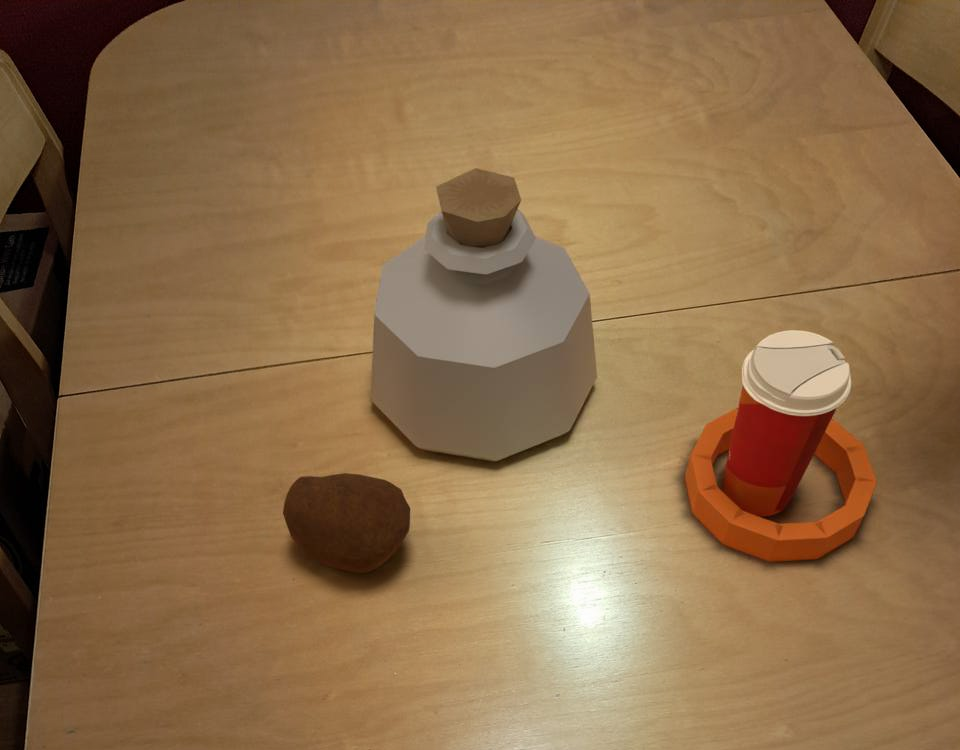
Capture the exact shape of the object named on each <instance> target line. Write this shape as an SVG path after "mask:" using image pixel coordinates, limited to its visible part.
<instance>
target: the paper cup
mask: <svg viewBox="0 0 960 750" xmlns="http://www.w3.org/2000/svg"><path fill="white" fill-rule="evenodd" d="M834 344H835V343H834V341H832V340H830V339H829V338H827V337H825V336H823V335H820V334H818V333H815V332H811V331H807V330H801V329H799V330H798V329H791V330H781V331H778V332H775V333H772V334H769V335H768V336H766V337H764V338H763V339H762V340H760V341H759V342H758V343H757V344H756V346H755V347H754V348H753V349H752V350H750V352H749V353H748V354H747V355H746V357H745V358H744V360H743V363H742V365H741V366H742V367H741V384H742V388H741V391H740V397H739V401H738V405H737V408H738V410H737V415H736V420H735V424H734V429H733V434H732V439H731V444H730V448H729V450H728V453H727V460H726V463H725V464H726V465H725V469H724V474H723V479H722V492H723V493H724V494H725V495H727V496H728V497H729V498H730V499H731V500H732V501H733V502H734V503H735V504H736V505H737V506H738V507H739V508H740V509H741V510H742V511H745V512H747V513H750V514H753V515H756V516H758V517H770V516H773V515H776V514H778V513H780V512H783V510H784V509H785V508H787V506H788V504H789V503H790V502H791V500H792V498H793V496H794V494H795V492H796V491H797V488H798V486H799V484H800V483H801V481H802V480H803V479H802V478H803V477H804V475H805V473H806V471H807V469H808V467H809V465H810V463H811V461H812V459H813V457H814V455H815V454H814V453H815V451H816V449H817V447H818V445H819V443H820V441H821V439H822V437H823V435H824V433H825V431H826V429H827V427H828V425H829V423H830V421H831V419H832V418H833V417H834V415H835V413H836V411H837V409H838V407H840V406H841V405H843V403H844V402H845V401H846V400H847V398H848V397H849V395H850V393H851V388H852V378H851V368H850V363H849V362H846V357H845V355H844V354H843V353H842V352H841V350H840V349H839V348H838V347H835V346H834Z"/></svg>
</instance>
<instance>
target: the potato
mask: <svg viewBox="0 0 960 750" xmlns="http://www.w3.org/2000/svg"><path fill="white" fill-rule="evenodd" d="M282 516H283V518H284V522H285V524H286V526H287V530H288V533H289V535H290V538H291V539H292V540H293V541H294V542H295V544H296V545H298V546H299V547H300V548H301V549H302V550H303V551H304V552H305V553H306V554H307V555H309V556H310V557H311V558H313V559H315V560H317V561H318V562H319V563H321V564H323V565H326V566H328V567H331V568H333V569H337V570H343V571H348V572H351V573H356V574H363V573H369V572H371V571H373V570H375V569H378V568H379V567H380V566H381V565H383V564H384V563H385V562H387V561H388V560H389V559H390V558H391V557H392V556H393V555H394V554H395V553H396V552H397V550H399V548H400V546H401V545H402V543H403V541H404V540H405V538H406V537H407V535H408V533H409V531H410V527H411V507H410V504H409V503H408V501H407V499H406V497H405V495H404V493H403V491H402V488H400V487H398V486H397V485H395V484H393V483H392V482H391V481H388V480H386V479H383V478H378V477H373V476H370V475H369V476H368V475H363V474H357V473H347V472H344V473H343V472H342V473H335V474H329V475H324V476H314V475H307V476H306V475H305V476H299V477H298V478H297V479H296V480H294V482H293V483H292V484H291V485H290V487H289V489H288V491H287V493H286V497H285V500H284V503H283V509H282Z"/></svg>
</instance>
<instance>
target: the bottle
mask: <svg viewBox="0 0 960 750" xmlns="http://www.w3.org/2000/svg"><path fill="white" fill-rule="evenodd" d="M435 188H436V189H435V190H436V193H437V198H438V202H439V207H440V212H438V213H437V214H436V215H434V216H433V217H432V218H431V219H430V221H428V223H427V224H426V230H425V235H424V236H423V237H421V238H420V239H418V240H417V241H415V242H413V244H411V245H410V246H407V248H405V249H404V250H402V251H401V252H399V253H398V254H396V255H394V256H393V257H392V258H391V259H389V260H387V261H386V262H385V263H383V264H382V265H381V271H380V277H379V284H378V290H377V295H376V302H375V307H374V314H373V333H372V335H373V336H372V356H371V358H372V360H371V375H370V376H371V378H370V401H371V402H372V403H373V404H374V405H375V406H376V407H377V408H378V409H379V410H380V411H381V412H382V413H383V415H385V416H386V417H387V419H388V420H389V421H391V422H392V424H393V425H394V426H395V427H396V428H397V429H398V430H399V431H400V432H401V433H402V434H403V435H404V436H405V437H406V438H407V439H408V440H409V441H410V442H411V443H412V445H414V447H416V448H417V449H420V450H422V451H426V452H433V453H439V454H445V455H451V456H456V457H457V456H458V457H464V458H469V459H475V460H482V461H486V462H487V461H489V462H495V463H496V462H499V461H501V460H504V459H506V458H509V457H511V456H514V455H516V454H519V453H521V452H524V451H526V450H529V449H531V448H534V447H537V446H538V445H541V444H543V443H546V442H549V441H551V440H554V439H556V438H558V437H562V436H563V435H565V434H567V433H569V432H570V431H571V430H572V427H573V425H574V423H575V422H576V420H577V417H578V415H579V413H580V412H581V410H582V408H583V406H584V403H585V402H586V400H587V397H588V395H589V394H590V392H591V390H592V388H593V386H594V384H595V382H596V380H597V378H598V371H597V359H596V350H595V349H596V348H595V347H596V346H595V338H594V336H595V335H594V327H593V313H592V303H591V302H592V301H591V294H590V291H589V290H588V288H587V286H586V284H585V282H584V281H583V279H582V277H581V274H580V273H579V271H578V270H577V268H576V266H575V264H574V263H573V261H572V259H571V257H570V255H569V253H568V251H567V249H566V248H565V247H564V246H561V245H559V244H556V243H553V242H551V241H548V240H546V239H543V238H541V237H539V236H536V235H535V233H534V231H533V230H532V227H531V225H530V224H529V221H528V219H527V217H526V216H525V215H524V213H523V212H521V211H520V209H519V207H520V205H521V201H522V198H521V194H520V191H519V188H518V185H517V182H516V178H515V177H513V176H509V175H505V174H502V173H497V172H493V171H489V170H485V169H481V168H478V167H477V168H476V167H474V168H472V169H470V170H468V171H466V172H464V173H462V174H460V175H458V176H456V177H454V178H451V179H449V180H447V181H445V182H443V183H441V184H439V185H436V186H435Z"/></svg>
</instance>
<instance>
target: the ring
mask: <svg viewBox="0 0 960 750" xmlns="http://www.w3.org/2000/svg"><path fill="white" fill-rule="evenodd" d="M737 410H738V407H735V408H734V409H732V410H730V411H728V412H726V413H725V414H722V415H721V416H719V417H717V418H715V419H714V420H711V421H709V422H708V423H706V424H705V426H704V428H703V430H702V432H701V434H700V435H699V438H698V440H697V442H696V444H695V446H694V448H693V449H692V451H691V453H690V455H689V460H688V463H687V468H686V472H685V476H684V480H685V485H686V490H687V495H688V499H689V503H690V509H691V513H692V515H694V517H695V518H696V519H698V521H699V522H700V523H701V524H702V525H703V526H704V527H705V528H706V529H707V530H708V531H709V532H710V533H711V534H712V535H713V536H714V537H715V538H716V539H717V540H718V541H719V542H720V543H721V544H722V545H723V546H726V547H729V548H731V549H734V550H737V551H740V552H741V553H745V554H747V555H750V556H753V557H756V558H758V559H761V560H763V561H766V562H788V561H789V562H791V561H807V560H818V559H820V558H822V557H823V556H825V555H827V554H829V553H830V552H832V551H834V550H835V549H837V548H838V547H840V546H842V545H844V544H845V543H847V542H848V541H851V539H853V538H854V537H855V534H856V533H857V530H858V528H859V527H860V525H861V523H862V521H863V519H864V517H865V515H866V512H867V509H868V506H869V504H870V503H871V499H872V496H873V494H874V491H875V488H876V486H877V483H878V481H877V478H876V475H875V472H874V470H873V467H872V464H871V461H870V458H869V455H868V453H867V449H866V446H865V445H864V444H863V443H862V442H861V441H859V440H858V439H857V438H856V437H854V436H853V435H852V434H851V433H850V432H849V431H848V430H847V429H846V428H844V427H843V426H842V425H841V424H840V423H838V421H836V420H835V419H834V418H833V417H832V419H831V421H830V423H829V425H828V427H827V429H826V431H825V433H824V435H823V437H822V439H821V441H820V443H819V445H818V447H817V449H816V451H815V453H814V455H815V456H816V457H817V458H818V459H819V460H821V461H822V462H823V463H824V464H825V465H826V466H827V467H828V468H830V470H832V471H833V472H834V473H835V474H836V478H837V480H838V483H839V486H840V489H841V492H842V496H843V499H844V503H843V505H842V506H841V507H840V508H838V509H836V510H835V511H833V512H831V513H829V514H828V515H826V516H824V517H823V518H822V519H820V520H818V521H809V522H789V523H777V522H775V521H772V520H769V519H766V518H764V517H762V516H756V515H753V514H750V513H747V512H745V511H742V510H741V509H740V508H739V507H738V506H737V505H736V504H735V503H734V502H733V501H732V500H731V499H730V498H729V497H728V496H727V495H725V494H724V493H723V490H721V488H719V486H718V483H717V478H716V475H715V471H714V466H713V465H714V463H715V461H716V459H717V458H718V456H720V455H722V454H724V453H726V452H729V448H730V444H731V439H732V434H733V429H734V424H735V420H736V415H737Z"/></svg>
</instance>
